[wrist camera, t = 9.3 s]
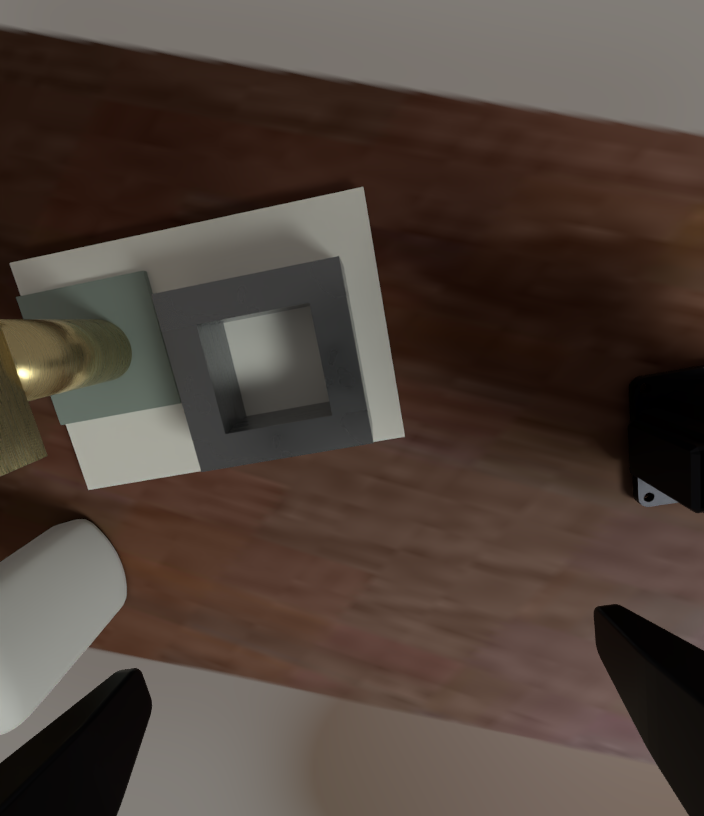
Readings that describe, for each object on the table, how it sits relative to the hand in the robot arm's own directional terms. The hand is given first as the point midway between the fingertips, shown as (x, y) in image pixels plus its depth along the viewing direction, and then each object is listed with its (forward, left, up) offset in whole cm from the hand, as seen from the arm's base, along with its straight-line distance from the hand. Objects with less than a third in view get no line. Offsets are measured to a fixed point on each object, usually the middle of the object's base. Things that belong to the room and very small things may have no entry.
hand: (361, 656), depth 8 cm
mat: (+11, -7, -12) cm, 18 cm away
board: (+6, -6, -13) cm, 16 cm away
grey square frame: (+3, -5, -12) cm, 13 cm away
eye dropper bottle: (+16, +4, -13) cm, 21 cm away
